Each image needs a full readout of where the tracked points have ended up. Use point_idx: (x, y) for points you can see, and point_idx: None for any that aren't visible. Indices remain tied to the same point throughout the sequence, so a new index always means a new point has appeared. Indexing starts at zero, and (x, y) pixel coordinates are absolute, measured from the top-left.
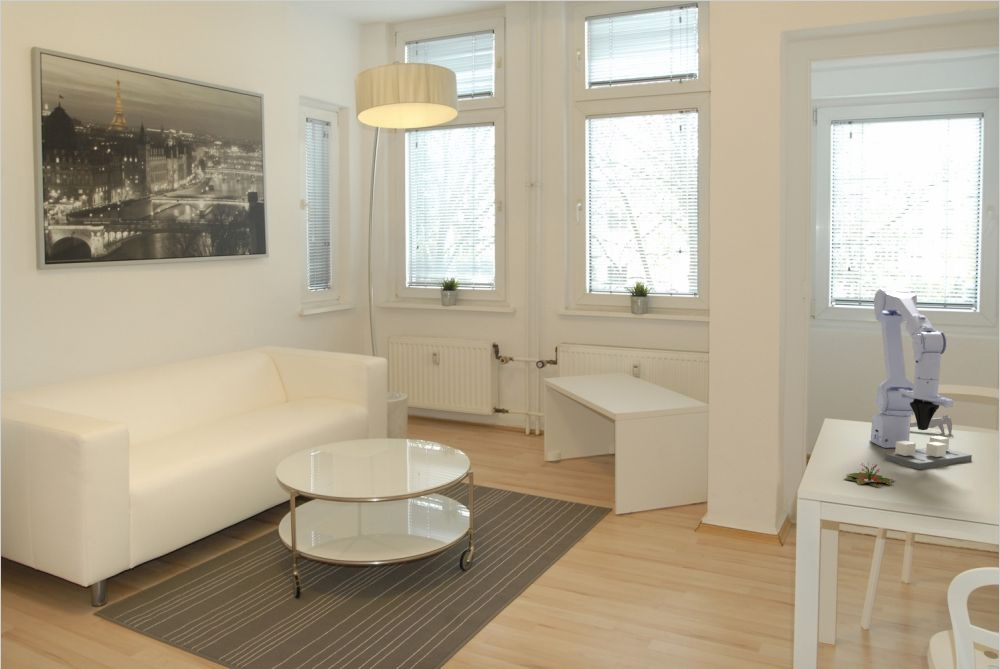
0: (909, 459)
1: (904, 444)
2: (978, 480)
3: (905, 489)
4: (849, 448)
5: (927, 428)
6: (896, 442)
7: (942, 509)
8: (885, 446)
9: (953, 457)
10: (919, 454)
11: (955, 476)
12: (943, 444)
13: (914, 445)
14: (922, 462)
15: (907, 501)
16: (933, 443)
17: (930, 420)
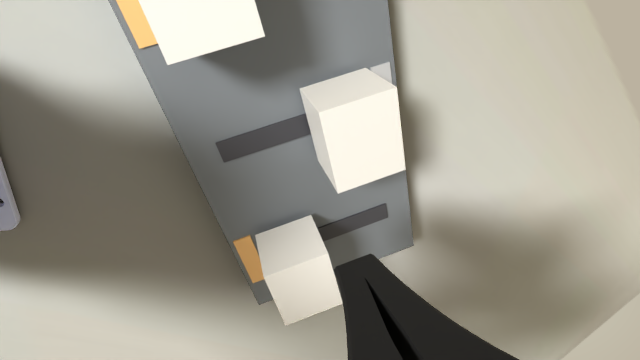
0: (355, 255)
1: (334, 305)
2: (577, 99)
3: (515, 328)
4: (51, 356)
5: (377, 260)
6: (288, 323)
7: (620, 308)
8: (17, 221)
9: (380, 21)
10: (289, 175)
11: (510, 152)
12: (394, 111)
13: (325, 250)
14: (404, 227)
15: (561, 345)
16: (357, 161)
17: (423, 301)
